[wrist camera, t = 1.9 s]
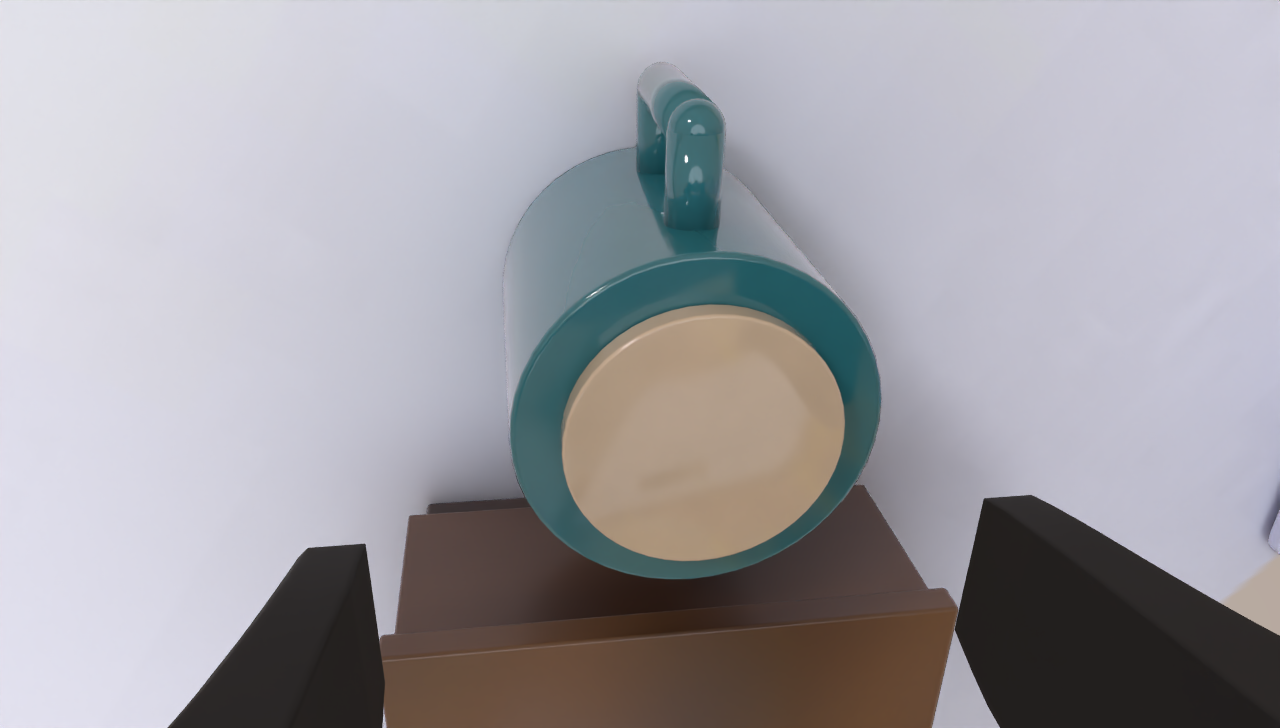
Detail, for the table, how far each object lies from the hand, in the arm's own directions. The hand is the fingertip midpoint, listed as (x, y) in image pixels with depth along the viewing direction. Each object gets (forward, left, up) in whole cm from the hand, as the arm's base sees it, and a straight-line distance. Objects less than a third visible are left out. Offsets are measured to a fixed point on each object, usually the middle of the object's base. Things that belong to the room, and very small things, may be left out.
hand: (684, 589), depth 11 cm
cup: (-1, 0, -8) cm, 8 cm away
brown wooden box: (-1, +9, -8) cm, 12 cm away
